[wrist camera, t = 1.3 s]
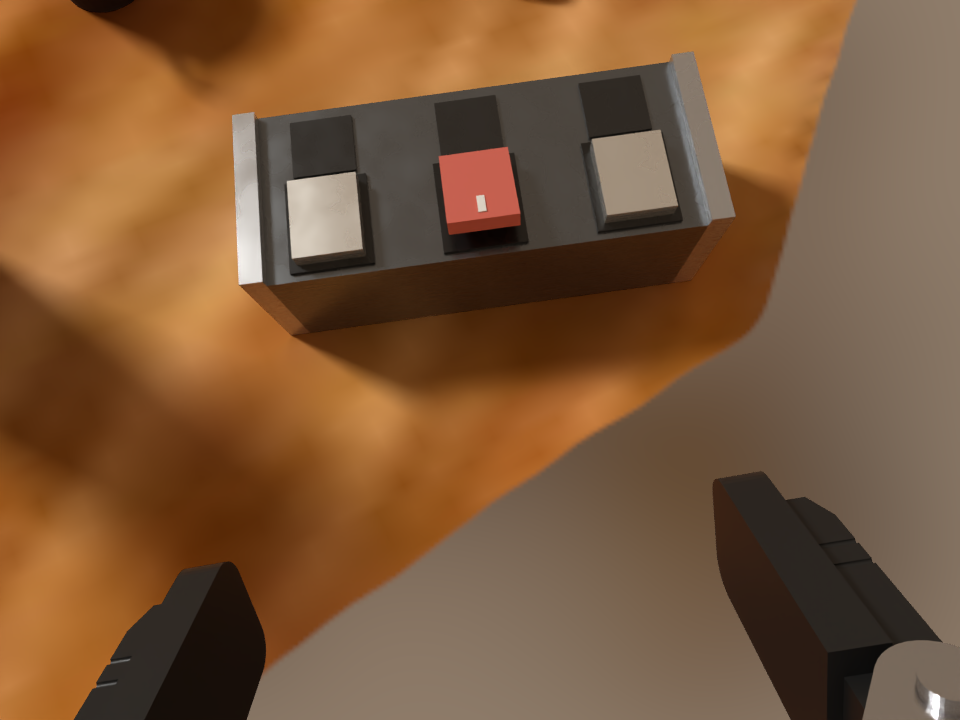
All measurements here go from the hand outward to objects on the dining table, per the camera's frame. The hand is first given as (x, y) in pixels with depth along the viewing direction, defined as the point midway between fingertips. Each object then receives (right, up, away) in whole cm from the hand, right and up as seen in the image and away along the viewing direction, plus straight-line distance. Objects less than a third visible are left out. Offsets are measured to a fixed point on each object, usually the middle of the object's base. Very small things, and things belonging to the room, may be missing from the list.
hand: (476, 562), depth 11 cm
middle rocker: (0, +12, +23) cm, 26 cm away
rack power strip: (0, +11, +33) cm, 35 cm away
